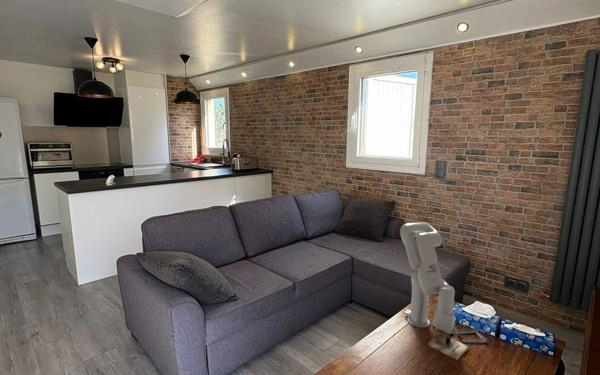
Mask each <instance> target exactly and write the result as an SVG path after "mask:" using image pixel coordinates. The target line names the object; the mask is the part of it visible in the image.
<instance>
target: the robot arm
mask: <svg viewBox="0 0 600 375" xmlns="http://www.w3.org/2000/svg"><path fill="white" fill-rule="evenodd" d="M399 234H400V238H401V240H402V243H403V245H404V247H405V250H406V255H407V259H408V262H409V265H410V267H411V268H412V269H414V270H417V271H415V272H413V273H412V274H411V276H410V278H411V280H410V281H411V301H410V302H411V304H410V309H408V308H405V309H404V314H405V315H408V316H407V317H406V319H407V322H408V323H409V324H410V325H412V326H414V327H417V328H423V329H424V328H428V327H429V326H430V325H431V326H432V328H433V329H434V332H435V330H436V329H440V330H442V331H444V332H446V333H447V338H446V344H447V345H448V344H449V343H450V342H451V338H453V337H456V336H457V335H458V332H457V330H458V329H457V328H456V327H455V326H456V318H455V317H456V315H455V313H454V305H455V304H454V303H455V293H456V292H455V291H456V290H455V288H454V287H453V286H452V285H449V283H448V282H447V281H446V280H445V279H443V277H442V272H441V269H440V266H439V263H438V259H439V258H438V255H437V252H436V249H435V247H440V246H441V245H442V244H443V239H442V238H443V237H442V236H441V234H440V233H439V231H437V230H436V228H434V227H433V226H432V225H431V224H430V223H428V222H426V221H425V222H409V223H405V224H403V225H401V227H400V231H399ZM432 295H438V297H437V302H435V303H434V306H436V308H435V310H434V313H433V319H432V320H431V321H430V320H429V318H428V316H429V303H430V302H429V301H430V296H432Z"/></svg>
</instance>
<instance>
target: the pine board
mask: <svg viewBox="0 0 600 375" xmlns="http://www.w3.org/2000/svg"><path fill="white" fill-rule="evenodd" d="M434 340H435V337H433V338H432V339H431V340H430V341H428V346H429V347H431V348H433V349H435V350H437V351H438V352H441V353H442V354H445V355H447V356H448V357H450V358H453V359H454V360H456V361H458V360H459V359H460V358H461V357H462V356H463V355H464V354H465V352H467V351H468V349H469V346H468V345H466V344H464V343H463V342H460V341H458V340H456V339H453V337H451V342H450V343H449V344H448V345H446V346H444V347H442V346H440V345H438V344H436V343H434Z"/></svg>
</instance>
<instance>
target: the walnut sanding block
mask: <svg viewBox="0 0 600 375" xmlns="http://www.w3.org/2000/svg"><path fill="white" fill-rule="evenodd" d="M434 338H435V340H434V343H436V344H438V345H440V346H442V347H444V346H446V345H447V344H446V338H447V333H446V332H444V331H442V330H440V329H436V330H435V331H434Z"/></svg>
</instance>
